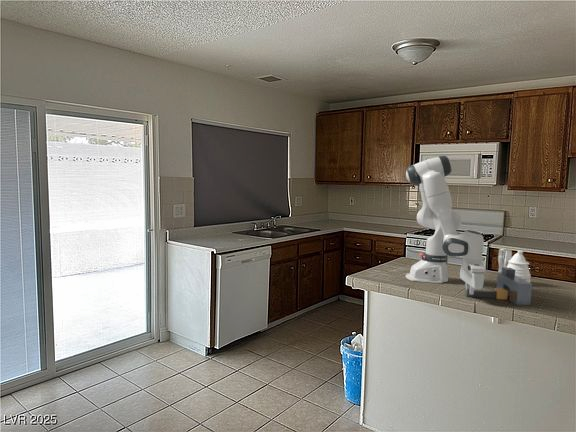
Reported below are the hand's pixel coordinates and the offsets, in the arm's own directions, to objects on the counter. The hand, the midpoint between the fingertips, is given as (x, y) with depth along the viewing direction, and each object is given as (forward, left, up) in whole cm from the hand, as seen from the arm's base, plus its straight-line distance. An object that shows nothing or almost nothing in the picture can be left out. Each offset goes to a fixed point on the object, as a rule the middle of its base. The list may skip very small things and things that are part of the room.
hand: (469, 293), depth 196 cm
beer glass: (+37, +49, -2) cm, 62 cm away
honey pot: (+36, +31, -2) cm, 48 cm away
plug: (+7, 0, -2) cm, 8 cm away
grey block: (+20, 0, -2) cm, 20 cm away
